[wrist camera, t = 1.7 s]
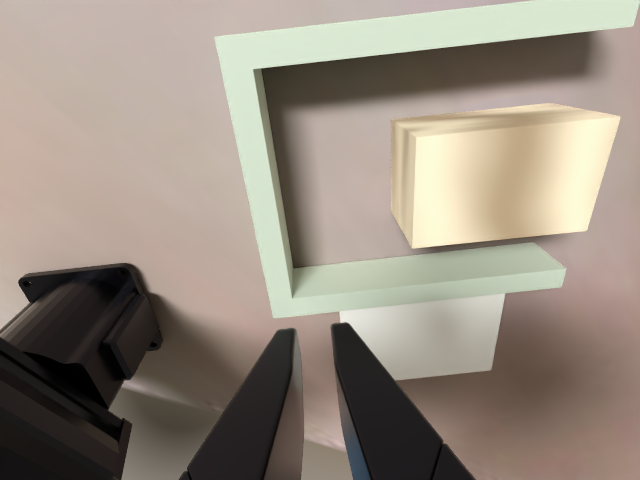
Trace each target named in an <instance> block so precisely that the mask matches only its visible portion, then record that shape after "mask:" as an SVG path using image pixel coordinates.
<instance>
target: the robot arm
mask: <svg viewBox="0 0 640 480" xmlns="http://www.w3.org/2000/svg"><path fill="white" fill-rule="evenodd" d="M121 270H122V271H125V272H126V273H127V274H124V273H122V272H121ZM30 282H31V283H32V284H31V283H30ZM18 283H19V286H20V287H21V289H22V291H23V292H24V294H25V296H26V297H27V299H28V300H29V302H30V303H29V304H28V305H27V306H26V307H25V308H24V309H23V310H22V311H21V312H19V313H18V314H17V315H16V316H15V317H14V318H13V319H12V320H11V321H9V322H8V323H7V324H6V325H5V326H4V327H3V328H2V329H1V330H0V480H121V478H122V473H123V468H124V463H125V458H126V453H127V448H128V443H129V438H130V433H131V428H132V423H130V422H129V421H127V420H126V419H124V418H123V419H120V418H119V417H118V416H116V415H115V414H113V413H112V412H110V411H109V408H110V406H111V404H112V402H113V400H114V399H115V397H116V395H117V393H118V391H119V389H120V388H121V386H122V384H123V382H124V380H130V379H131V378H132V377H133V375H134V374H135V372H136V370H137V368H138V366H139V364H140V362H141V361H142V359H143V357H144V355H145V353H146V351H153V350H158V349H159V348H160V347H161V345H162V343H163V339H162V336H161V334H160V331H159V329H158V328H159V325H158V323H157V320H156V318H155V315H154V313H153V311H152V308H151V306H150V303H149V301H148V299H147V297H146V296H145V295H144V293H143V290H142V288H141V286H140V283H139V281H138V278H137V276H136V274H135V271H134V269H133V268H132V266H130V265H129V264H126V263H119V264H110V265H101V266H92V267H83V268H74V269H65V270H56V271H47V272H38V273H28V274H25V275H24V276H23V277H22V278H20V279H19V281H18ZM331 337H332V346H333V356H334V365H335V374H336V383H337V392H338V401H339V410H340V418H341V426H342V431H343V436H344V441H345V445H346V449H347V454H348V458H349V462H350V467H351V471H352V476H353V480H476V479H475V478H474V477H473V476H472V474H471V473H470V472H469V471H468V470H467V469H466V467H465V466H464V465H463V464H462V463H461V461H460V460H459V459H458V458H457V456H456V455H455V454H454V453H453V451H452V450H451V449H450V448H449V446H448V445H447V444H443V439H442V438H441V437H440V436H439V434H438V433H437V432H436V431H435V429H434V428H433V427H432V426H431V424H430V423H429V422H428V421H427V419H426V418H425V417H424V416H423V414H422V413H421V412H420V411H419V409H418V408H417V407H416V406H415V404H414V403H413V402H412V401H411V399H410V398H409V397H408V396H407V394H406V393H405V392H404V391H403V390H402V388H401V387H400V386H399V385H398V383H397V382H396V381H395V380H394V378H393V377H392V376H391V375H390V373H389V372H388V371H387V370H386V368H385V367H384V366H383V365H382V363H381V362H380V361H379V360H378V358H377V357H376V356H375V355H374V353H373V352H372V351H371V350H370V348H369V347H368V346H367V345H366V343H365V342H364V341H363V340H362V338H361V337H360V336H359V335H358V333H357V332H356V331H355V330H354V329H353V327H352V326H351V325H350V324H349V323H347V322H343V323H334V324H332V325H331ZM154 342H155V343H154ZM303 443H304V408H303V384H302V362H301V353H300V347H299V342H298V336H297V331H296V329H295V328H288V329H280V330H278V331H277V332H276V333H275V335H274V336H273V338H272V339H271V341H270V342H269V344H268V345H267V347H266V348H265V350H264V351H263V353H262V354H261V356H260V357H259V359H258V360H257V362H256V363H255V365H254V367H253V368H252V370H251V371H250V373H249V374H248V376H247V377H246V379H245V380H244V382H243V383H242V385H241V386H240V388H239V389H238V391H237V392H236V394H235V395H234V397H233V398H232V400H231V401H230V403H229V404H228V406H227V408H226V409H225V411H224V412H223V414H222V415H221V417H220V418H219V420H218V421H217V423H216V424H215V426H214V427H213V429H212V430H211V432H210V433H209V435H208V436H207V438H206V439H205V441H204V443H203V444H202V445H201V447H200V449H199V450H198V452H197V453H196V455H195V456H194V458H193V459H192V461H191V462H190V464H189V465H188V467H187V470H188V471H185V472H184V473H183V474H182V475H181V477H180V479H179V480H301V471H302V456H303Z"/></svg>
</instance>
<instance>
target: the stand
mask: <svg viewBox="0 0 640 480" xmlns="http://www.w3.org/2000/svg"><path fill="white" fill-rule="evenodd" d="M504 298H505V293H504V294H494V295H485V296H476V297H467V298H458V299H449V300H439V301H430V302H421V303H412V304H403V305H393V306H384V307H375V308H366V309H357V310H348V311H339V319H340V323H343V322H347V323H349V324H350V325H351V326H352V327H353V329H354V330H355V331H356V332H357V333H358V335H359V336H360V337H361V338H362V340H363V341H364V342H365V343H366V345H367V346H368V347H369V348H370V350H371V351H372V352H373V353H374V355H375V356H376V357H377V358H378V360H379V361H380V362H381V363H382V365H383V366H384V367H385V368H386V370H387V371H388V372H389V373H390V375H391V376H392V377H393V378H394V380H395V381H396V380H406V379H415V378H424V377H433V376H443V375H452V374H461V373H471V372H480V371H489V370H491V369H492V363H493V358H494V352H495V347H496V341H497V336H498V331H499V325H500V320H501V314H502V309H503V304H504Z"/></svg>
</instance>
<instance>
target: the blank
mask: <svg viewBox="0 0 640 480" xmlns="http://www.w3.org/2000/svg"><path fill="white" fill-rule="evenodd" d="M620 118H621V116H617V115H611V114H606V113H601V112H595V111H590V110H585V109H579V108H574V107H569V106H564V105H558V104H553V103H547V104H537V105H528V106H518V107H508V108H499V109H489V110H479V111H470V112H460V113H450V114H441V115H431V116H421V117H412V118H402V119H393V120H391V212H392V214H393V216H394V218H395V219H396V221H397V223H398V225H399V226H400V228H401V230H402V232H403V233H404V235H405V237H406V239H407V240H408V242H409V244H410V246H411V247H412V249H413V248H423V247H432V246H442V245H452V244H462V243H472V242H481V241H491V240H501V239H511V238H521V237H530V236H540V235H550V234H560V233H570V232H579V231H587V228H588V225H589V221H590V218H591V215H592V211H593V208H594V205H595V201H596V198H597V195H598V191H599V188H600V185H601V181H602V178H603V175H604V171H605V168H606V164H607V161H608V158H609V154H610V151H611V148H612V144H613V141H614V138H615V134H616V131H617V128H618V124H619V121H620Z"/></svg>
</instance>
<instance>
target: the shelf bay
mask: <svg viewBox="0 0 640 480" xmlns="http://www.w3.org/2000/svg"><path fill="white" fill-rule="evenodd" d="M639 3H640V0H533V1H525V2H516V3H507V4H498V5H489V6H481V7H472V8H463V9H454V10H445V11H437V12H428V13H419V14H410V15H401V16H393V17H384V18H375V19H366V20H357V21H349V22H340V23H331V24H322V25H313V26H305V27H296V28H287V29H278V30H269V31H261V32H252V33H243V34H234V35H225V36H217V37H214V38H215V42H216V47H217V52H218V57H219V61H220V66H221V71H222V76H223V81H224V85H225V90H226V95H227V100H228V104H229V109H230V114H231V119H232V124H233V128H234V133H235V138H236V143H237V147H238V152H239V157H240V162H241V167H242V171H243V176H244V181H245V186H246V190H247V195H248V200H249V205H250V209H251V214H252V219H253V224H254V229H255V233H256V238H257V243H258V248H259V252H260V257H261V262H262V267H263V272H264V276H265V281H266V286H267V291H268V295H269V300H270V305H271V310H272V315H273V319H274V318H283V317H293V316H302V315H311V314H320V313H329V312H338V311H348V310H357V309H366V308H375V307H384V306H393V305H403V304H412V303H421V302H430V301H439V300H449V299H458V298H467V297H476V296H485V295H494V294H504V293H513V292H522V291H531V290H540V289H549V288H559V287H562V283H563V280H564V276H565V272H566V268H565V267H564V266H563V265H561V264H560V263H559V262H558V261H556V260H555V259H554V258H553V257H551V256H550V255H549V254H548V253H546V252H545V251H544V250H543V249H541V248H540V247H539V246H538V245H536V244H535V243H534V242H529V243H520V244H511V245H501V246H492V247H483V248H474V249H465V250H456V251H447V252H438V253H429V254H420V255H410V256H401V257H392V258H383V259H374V260H365V261H356V262H347V263H338V264H328V265H319V266H310V267H301V268H293V263H292V257H291V251H290V244H289V238H288V232H287V226H286V220H285V213H284V207H283V201H282V195H281V188H280V182H279V176H278V170H277V164H276V157H275V151H274V145H273V139H272V132H271V126H270V120H269V114H268V108H267V101H266V95H265V89H264V83H263V77H262V70H261V68H268V67H277V66H286V65H295V64H304V63H313V62H321V61H330V60H339V59H348V58H357V57H366V56H374V55H383V54H392V53H401V52H410V51H419V50H428V49H436V48H445V47H454V46H463V45H472V44H481V43H489V42H498V41H507V40H516V39H525V38H534V37H542V36H551V35H560V34H569V33H578V32H587V31H596V30H604V29H613V28H622V27H631V26H633V25H634V21H635V18H636V14H637V10H638V7H639Z"/></svg>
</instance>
